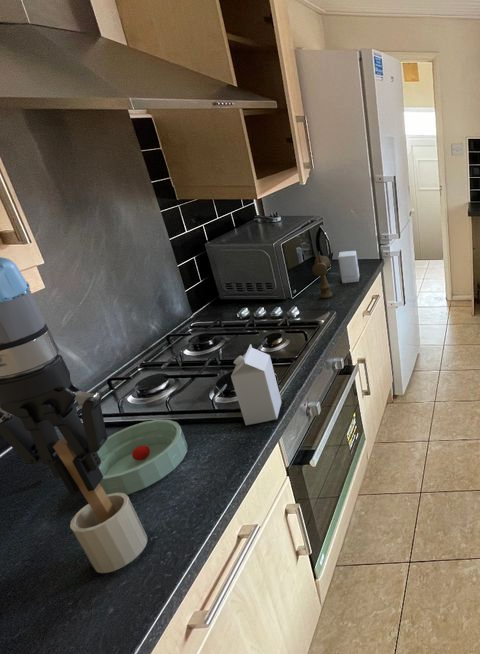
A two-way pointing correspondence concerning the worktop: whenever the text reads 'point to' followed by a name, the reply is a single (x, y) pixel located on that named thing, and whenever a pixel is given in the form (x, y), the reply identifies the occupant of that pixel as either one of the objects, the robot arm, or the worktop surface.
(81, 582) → the worktop surface
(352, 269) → the white packaging box
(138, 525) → the crock
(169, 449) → the bowl
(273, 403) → the milk carton
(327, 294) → the kendama
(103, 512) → the stirring stick
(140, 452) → the cherry tomato
